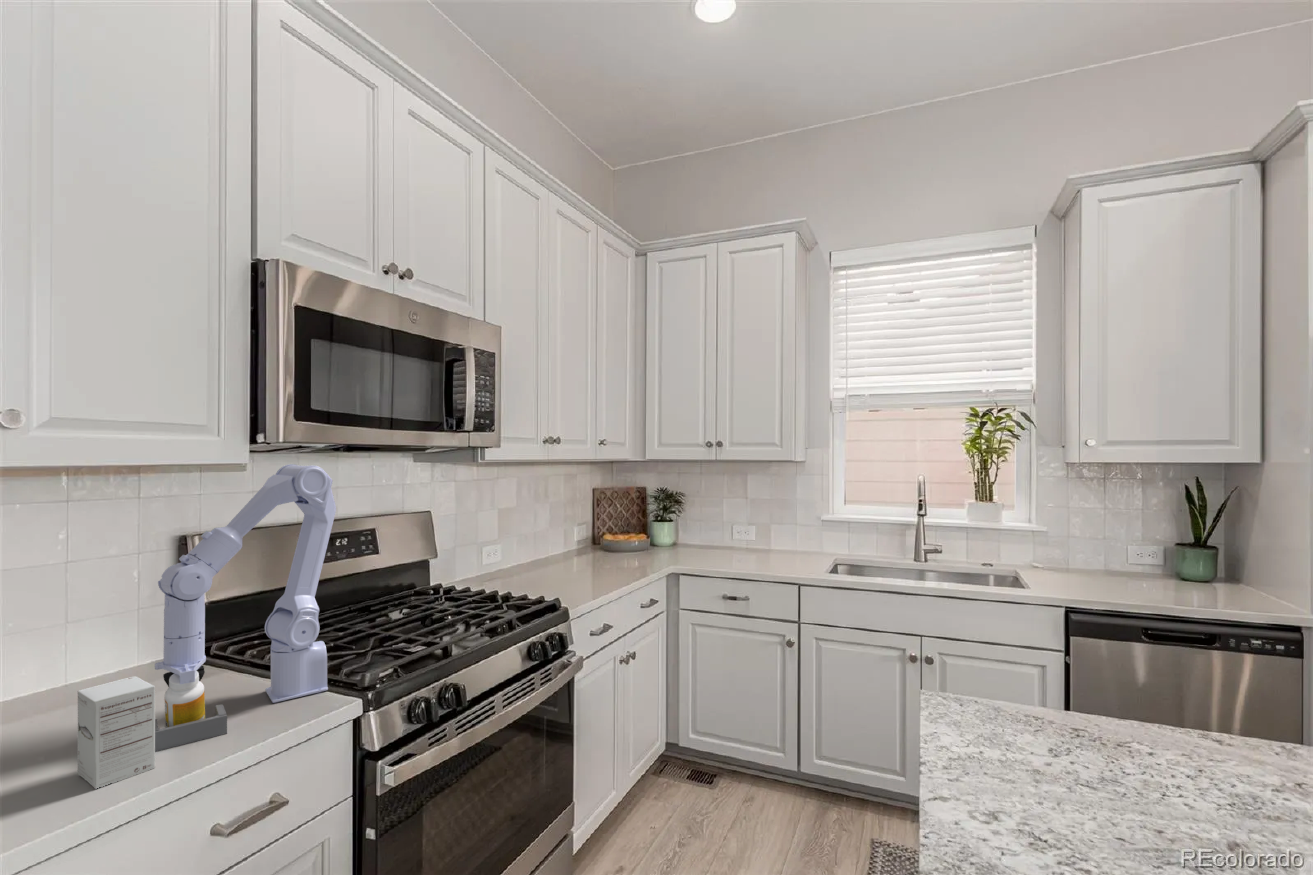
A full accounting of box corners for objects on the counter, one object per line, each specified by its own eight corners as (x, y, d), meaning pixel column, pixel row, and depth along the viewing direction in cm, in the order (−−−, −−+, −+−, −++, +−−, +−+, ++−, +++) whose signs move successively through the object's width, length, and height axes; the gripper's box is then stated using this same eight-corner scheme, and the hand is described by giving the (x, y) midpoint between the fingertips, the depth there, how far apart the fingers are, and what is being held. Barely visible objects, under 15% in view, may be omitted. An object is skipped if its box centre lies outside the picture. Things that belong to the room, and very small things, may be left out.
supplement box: (75, 776, 94) (75, 689, 94) (138, 755, 100) (137, 674, 100) (93, 791, 90) (92, 701, 90) (156, 768, 96) (156, 684, 96)
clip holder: (222, 721, 112) (222, 704, 112) (227, 733, 107) (227, 715, 107) (149, 738, 105) (149, 720, 105) (151, 752, 101) (150, 733, 101)
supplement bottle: (213, 720, 111) (212, 671, 108) (184, 741, 106) (182, 690, 103) (187, 712, 112) (185, 663, 109) (157, 732, 106) (155, 681, 104)
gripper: (153, 628, 113) (152, 705, 113) (156, 649, 102) (155, 734, 102) (202, 621, 118) (201, 695, 118) (210, 640, 107) (209, 722, 107)
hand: (183, 713), depth 110 cm, fingers closed, pressing on supplement bottle
